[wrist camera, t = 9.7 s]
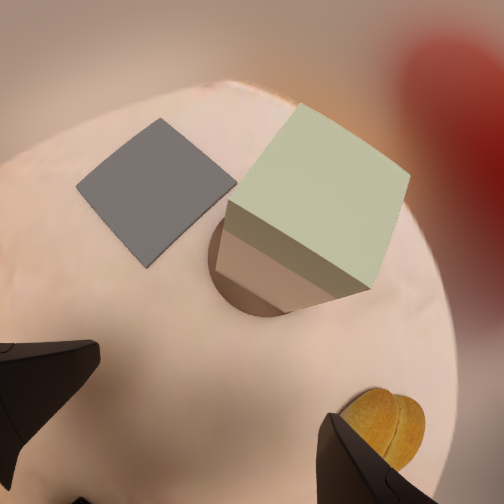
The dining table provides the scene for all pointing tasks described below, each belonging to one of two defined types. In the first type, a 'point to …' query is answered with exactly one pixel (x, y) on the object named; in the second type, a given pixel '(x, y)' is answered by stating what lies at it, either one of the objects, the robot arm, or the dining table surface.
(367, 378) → the dining table surface
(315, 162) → the carton
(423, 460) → the dining table surface
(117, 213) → the mat
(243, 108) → the dining table surface
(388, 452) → the bread roll
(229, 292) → the disc
